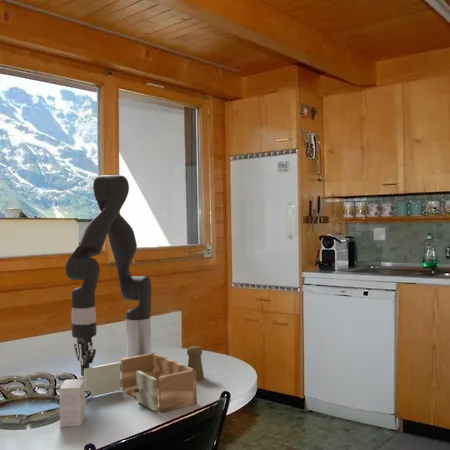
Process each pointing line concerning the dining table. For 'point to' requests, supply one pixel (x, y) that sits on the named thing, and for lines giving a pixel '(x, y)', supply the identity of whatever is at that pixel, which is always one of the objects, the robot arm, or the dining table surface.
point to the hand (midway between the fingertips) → (85, 375)
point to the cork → (195, 361)
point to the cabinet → (159, 382)
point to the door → (103, 379)
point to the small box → (72, 402)
